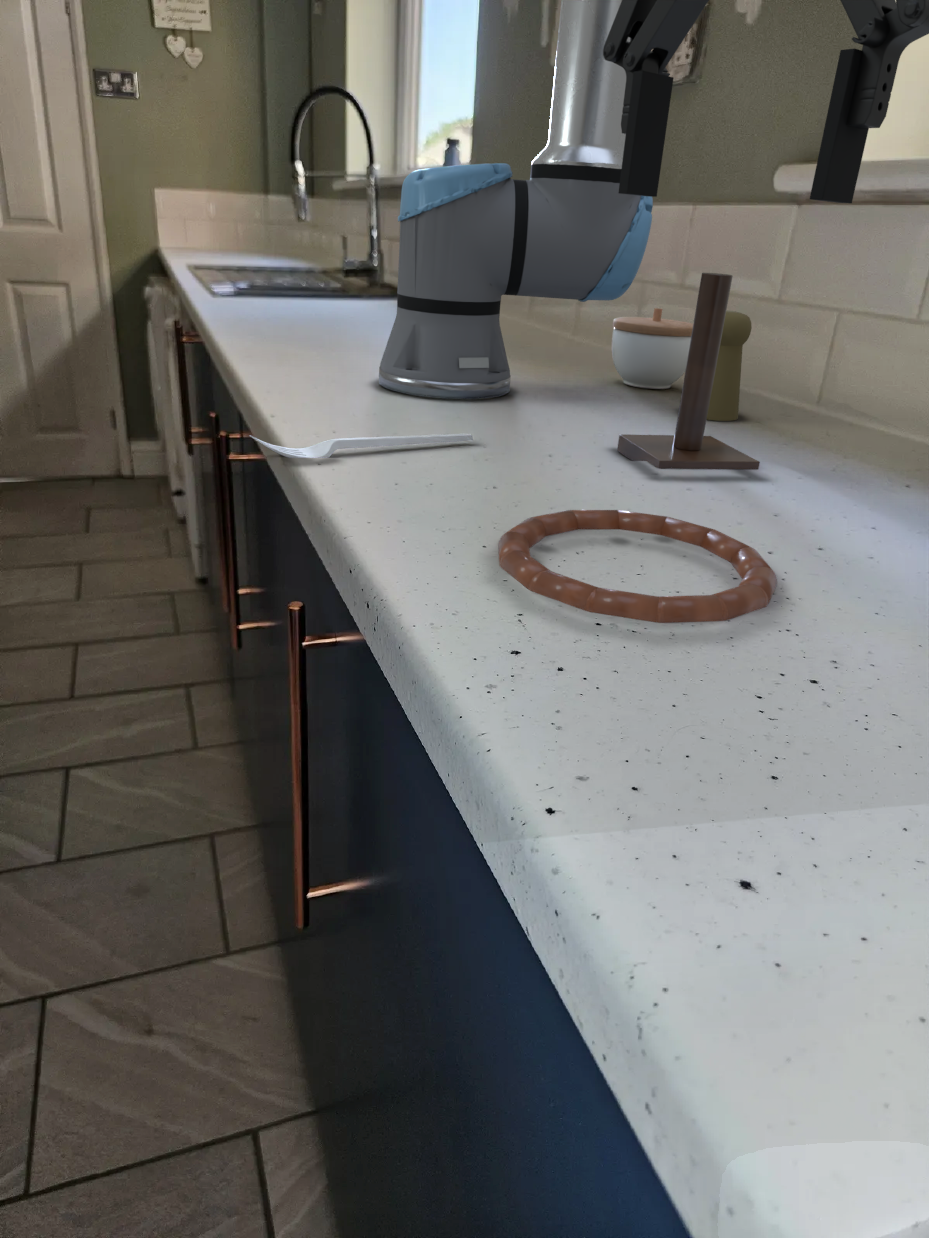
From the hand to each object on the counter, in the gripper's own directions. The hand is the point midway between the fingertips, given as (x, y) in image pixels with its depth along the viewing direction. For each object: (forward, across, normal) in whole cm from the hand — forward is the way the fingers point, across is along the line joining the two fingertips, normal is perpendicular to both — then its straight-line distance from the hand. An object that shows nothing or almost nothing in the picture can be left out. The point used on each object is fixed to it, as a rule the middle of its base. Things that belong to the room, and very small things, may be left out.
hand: (724, 199), depth 50 cm
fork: (+20, -26, -8) cm, 34 cm away
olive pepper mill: (+20, -26, +36) cm, 49 cm away
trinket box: (+20, -42, +44) cm, 64 cm away
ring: (+19, +4, -8) cm, 22 cm away
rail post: (+20, -12, +16) cm, 28 cm away
